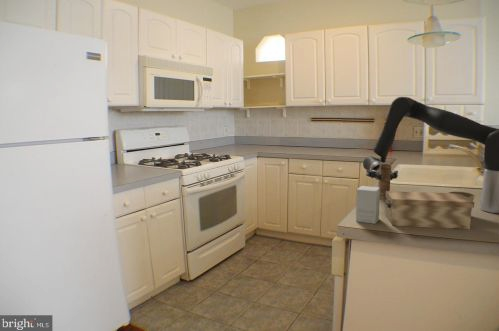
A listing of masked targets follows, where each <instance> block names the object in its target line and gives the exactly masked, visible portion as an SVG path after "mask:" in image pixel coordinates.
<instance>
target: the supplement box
mask: <svg viewBox="0 0 499 331" xmlns="http://www.w3.org/2000/svg"><path fill="white" fill-rule="evenodd" d="M380 198H381V197H380V188H379V187H378V186H367V185H361V186H359V187H358V188H357V189H356V204H355V205H356V207H355V209H356V210H355V211H356V212H355V214H356V215H355V221H356V222H357V223H365V224H374V225H375V224H377V222H378V221H379V220H378V219H380V204H381V203H380Z"/></svg>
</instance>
